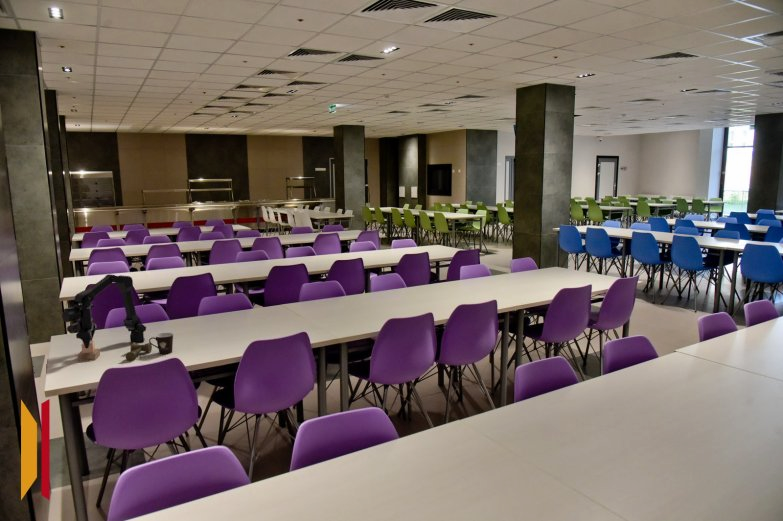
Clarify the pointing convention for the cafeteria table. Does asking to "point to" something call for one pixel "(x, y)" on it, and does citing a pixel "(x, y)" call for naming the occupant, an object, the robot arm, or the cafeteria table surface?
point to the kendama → (137, 350)
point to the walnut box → (89, 355)
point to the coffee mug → (164, 342)
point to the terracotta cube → (89, 349)
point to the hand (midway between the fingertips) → (88, 346)
